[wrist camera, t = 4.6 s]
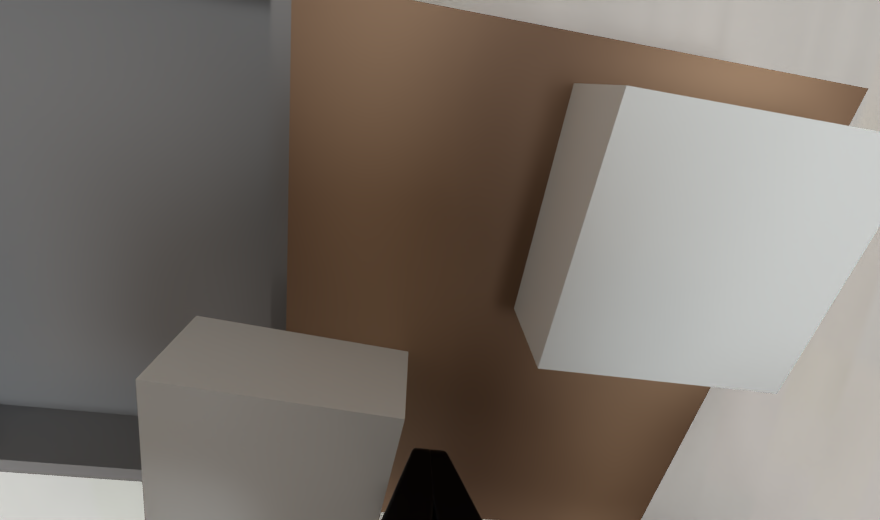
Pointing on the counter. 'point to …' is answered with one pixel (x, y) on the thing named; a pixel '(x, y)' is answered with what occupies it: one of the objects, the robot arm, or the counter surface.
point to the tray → (131, 207)
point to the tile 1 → (268, 425)
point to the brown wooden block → (479, 236)
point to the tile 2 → (693, 238)
